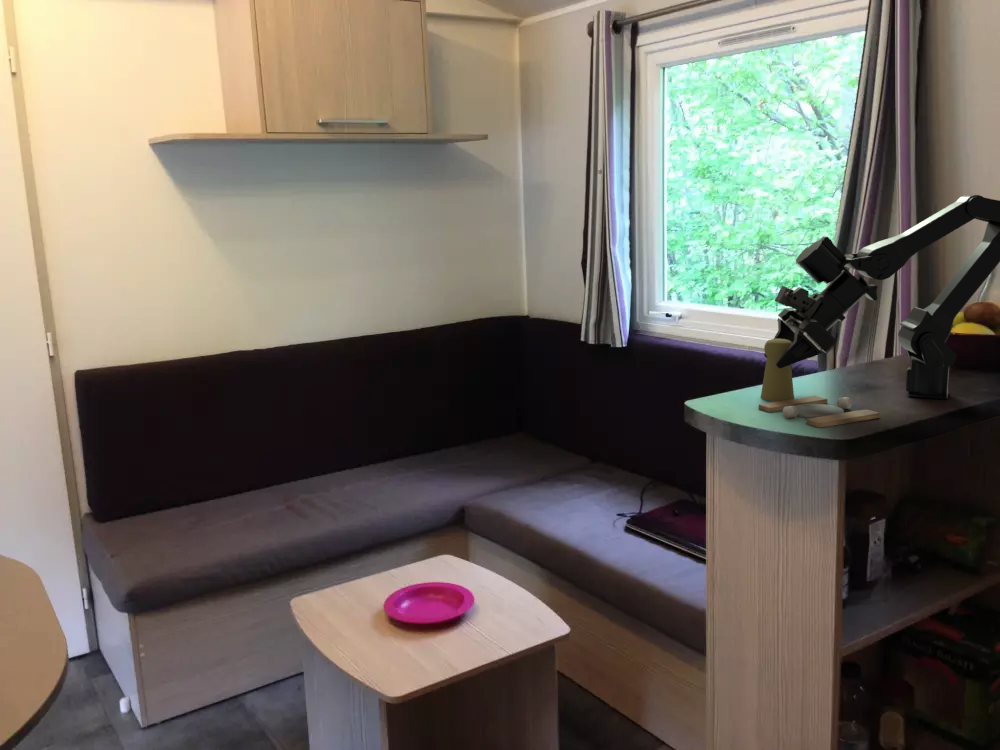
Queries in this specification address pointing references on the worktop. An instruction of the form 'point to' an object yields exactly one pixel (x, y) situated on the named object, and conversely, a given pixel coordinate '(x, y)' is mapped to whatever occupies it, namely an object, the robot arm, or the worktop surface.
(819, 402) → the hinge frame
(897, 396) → the worktop surface
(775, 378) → the cork
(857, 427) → the worktop surface
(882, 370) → the worktop surface
